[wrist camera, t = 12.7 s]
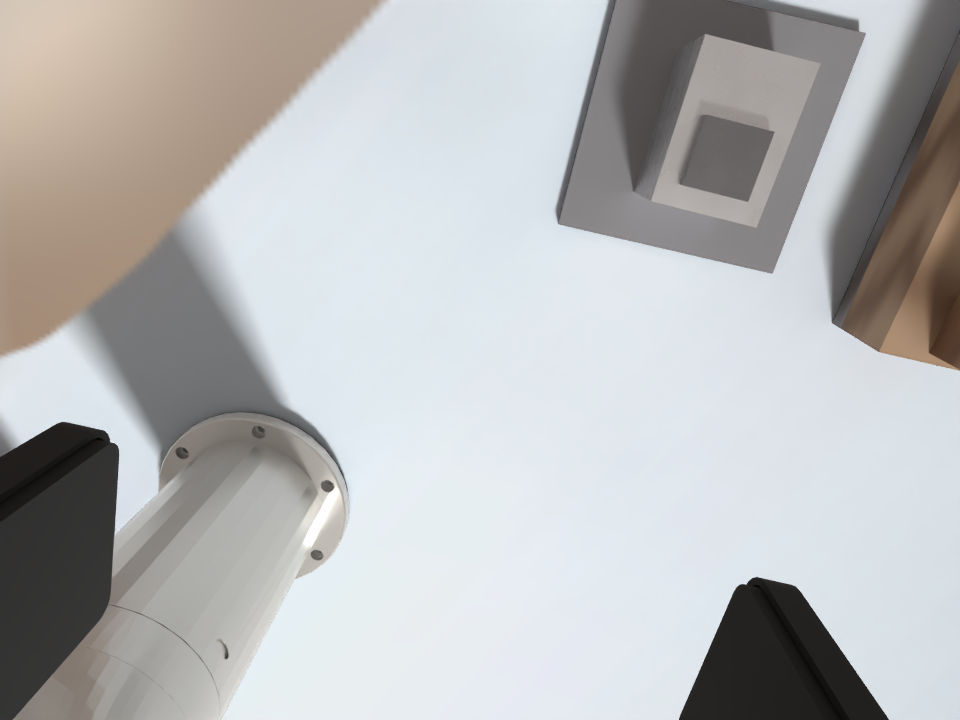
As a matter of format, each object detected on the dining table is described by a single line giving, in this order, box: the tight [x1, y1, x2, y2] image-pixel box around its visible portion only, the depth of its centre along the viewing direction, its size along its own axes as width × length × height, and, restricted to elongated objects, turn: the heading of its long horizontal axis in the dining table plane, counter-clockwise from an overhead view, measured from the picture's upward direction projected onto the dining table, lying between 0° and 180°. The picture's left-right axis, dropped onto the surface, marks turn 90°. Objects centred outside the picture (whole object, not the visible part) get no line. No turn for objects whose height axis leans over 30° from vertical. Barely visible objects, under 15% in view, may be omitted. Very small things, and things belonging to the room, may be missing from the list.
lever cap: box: [634, 34, 821, 228], centre depth 29 cm, size 7×5×6 cm
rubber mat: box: [558, 0, 866, 273], centre depth 32 cm, size 12×12×1 cm
